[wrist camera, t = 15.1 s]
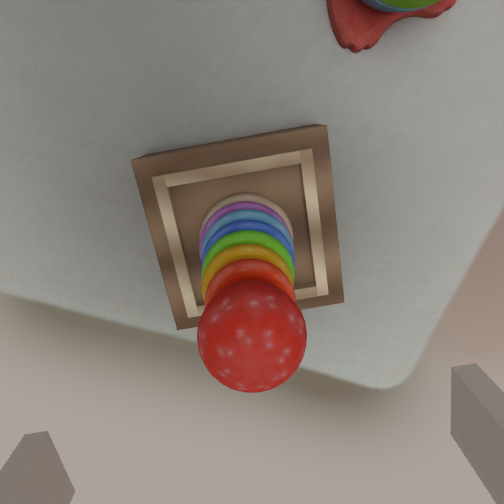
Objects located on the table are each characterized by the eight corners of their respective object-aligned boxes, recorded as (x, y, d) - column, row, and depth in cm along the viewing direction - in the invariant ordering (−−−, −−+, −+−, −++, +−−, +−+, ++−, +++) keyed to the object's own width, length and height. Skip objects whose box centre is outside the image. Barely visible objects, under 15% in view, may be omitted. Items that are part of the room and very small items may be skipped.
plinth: (145, 154, 35) (128, 161, 30) (315, 124, 35) (328, 125, 29) (184, 305, 41) (176, 334, 35) (332, 280, 40) (346, 306, 35)
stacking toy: (309, 242, 33) (388, 387, 16) (238, 294, 35) (239, 477, 17) (254, 171, 31) (275, 249, 14) (181, 229, 33) (115, 367, 15)
